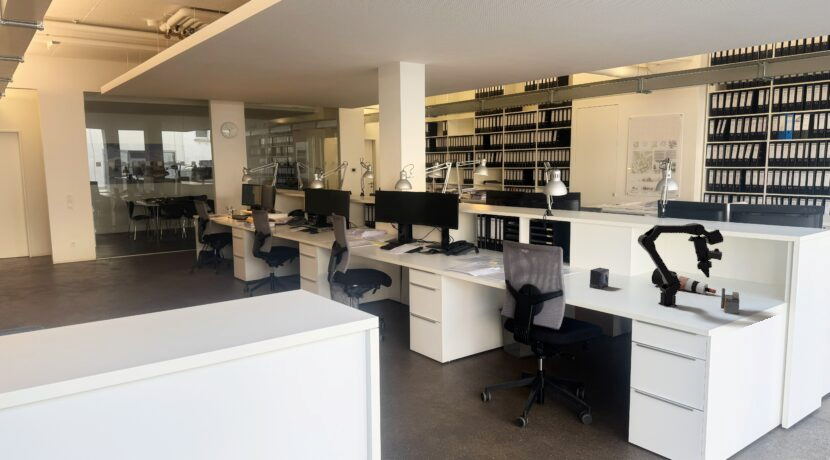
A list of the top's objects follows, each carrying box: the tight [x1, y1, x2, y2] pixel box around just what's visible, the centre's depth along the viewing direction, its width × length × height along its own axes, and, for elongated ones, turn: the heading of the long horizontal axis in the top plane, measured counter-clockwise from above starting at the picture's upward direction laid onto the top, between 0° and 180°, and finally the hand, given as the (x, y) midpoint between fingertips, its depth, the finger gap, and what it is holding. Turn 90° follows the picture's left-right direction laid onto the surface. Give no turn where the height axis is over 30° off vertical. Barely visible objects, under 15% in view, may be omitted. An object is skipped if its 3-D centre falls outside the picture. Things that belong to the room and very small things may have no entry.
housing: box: [724, 291, 740, 315], centre depth 271 cm, size 6×10×9 cm, turn 154°
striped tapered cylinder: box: [651, 267, 717, 295], centre depth 315 cm, size 10×34×10 cm, turn 39°
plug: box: [720, 287, 726, 312], centre depth 272 cm, size 6×4×11 cm
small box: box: [589, 267, 610, 290], centre depth 325 cm, size 11×6×10 cm, turn 131°
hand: (708, 277), depth 281 cm, fingers closed
